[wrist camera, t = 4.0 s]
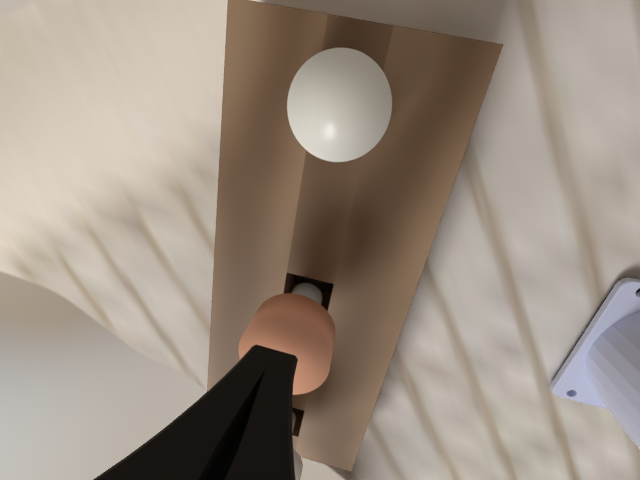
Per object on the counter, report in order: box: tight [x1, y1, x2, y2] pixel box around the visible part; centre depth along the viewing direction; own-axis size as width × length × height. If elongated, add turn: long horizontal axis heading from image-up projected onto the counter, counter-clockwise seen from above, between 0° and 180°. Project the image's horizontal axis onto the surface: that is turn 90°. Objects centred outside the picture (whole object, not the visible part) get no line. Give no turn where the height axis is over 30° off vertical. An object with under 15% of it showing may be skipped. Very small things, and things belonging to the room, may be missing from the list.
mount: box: [207, 0, 503, 472], centre depth 17 cm, size 10×24×3 cm, turn 170°
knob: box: [287, 48, 392, 162], centre depth 13 cm, size 4×4×4 cm
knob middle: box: [238, 283, 336, 395], centre depth 14 cm, size 4×4×4 cm
